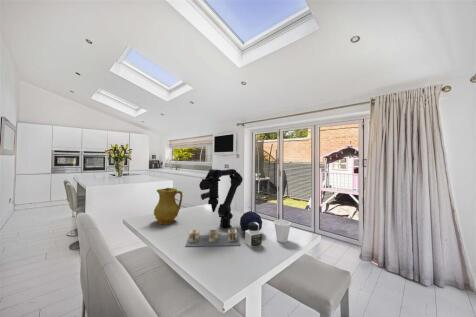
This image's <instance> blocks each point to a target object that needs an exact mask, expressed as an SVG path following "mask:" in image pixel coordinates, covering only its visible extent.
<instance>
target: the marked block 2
mask: <svg viewBox="0 0 476 317" xmlns="http://www.w3.org/2000/svg"><path fill="white" fill-rule="evenodd" d="M227 235H228V241H237V235H238V232H237V229H236V228H235V229H233V228H232V229H231V228H230V229H229V228H228V230H227Z"/></svg>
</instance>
